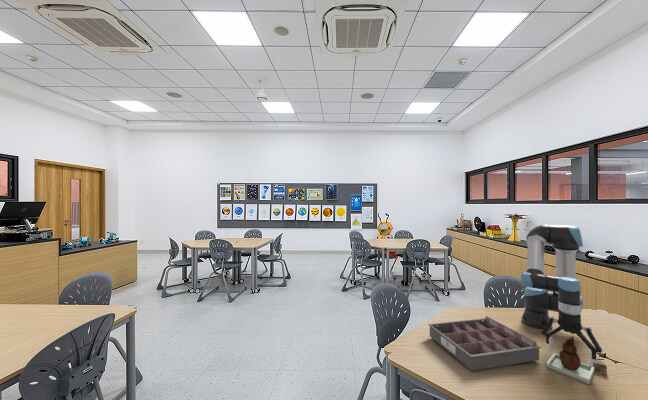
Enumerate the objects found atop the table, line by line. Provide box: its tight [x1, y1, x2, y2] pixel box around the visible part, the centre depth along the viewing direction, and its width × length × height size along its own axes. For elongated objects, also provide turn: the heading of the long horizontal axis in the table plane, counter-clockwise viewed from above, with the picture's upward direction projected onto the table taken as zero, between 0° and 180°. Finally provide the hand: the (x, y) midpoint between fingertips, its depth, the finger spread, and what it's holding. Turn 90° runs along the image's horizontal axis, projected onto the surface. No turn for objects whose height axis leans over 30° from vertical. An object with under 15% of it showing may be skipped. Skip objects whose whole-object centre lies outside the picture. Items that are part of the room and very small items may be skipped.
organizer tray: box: [427, 315, 542, 371], centre depth 134 cm, size 32×40×10 cm
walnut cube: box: [592, 358, 608, 375], centre depth 117 cm, size 4×4×4 cm
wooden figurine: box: [559, 335, 581, 370], centre depth 118 cm, size 7×6×15 cm
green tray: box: [545, 352, 595, 385], centre depth 117 cm, size 14×14×2 cm
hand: (570, 358), depth 117 cm, fingers open, 13 cm apart
